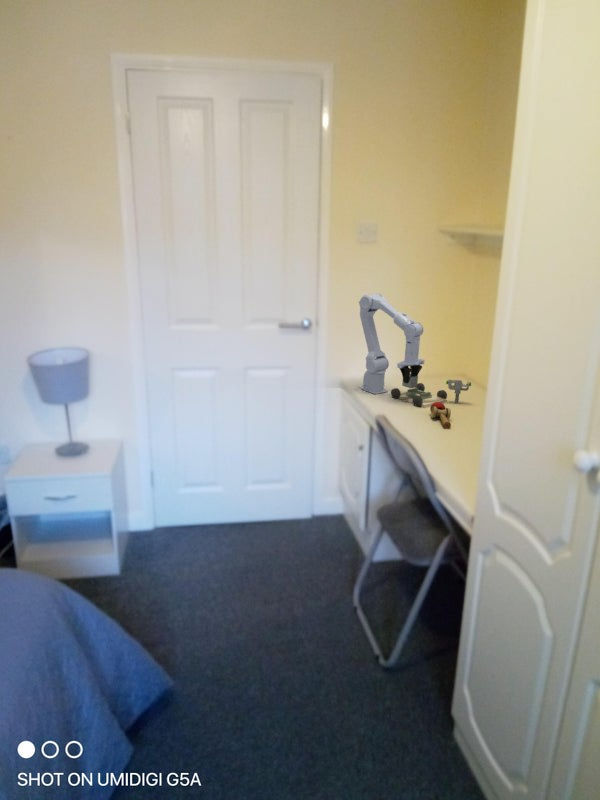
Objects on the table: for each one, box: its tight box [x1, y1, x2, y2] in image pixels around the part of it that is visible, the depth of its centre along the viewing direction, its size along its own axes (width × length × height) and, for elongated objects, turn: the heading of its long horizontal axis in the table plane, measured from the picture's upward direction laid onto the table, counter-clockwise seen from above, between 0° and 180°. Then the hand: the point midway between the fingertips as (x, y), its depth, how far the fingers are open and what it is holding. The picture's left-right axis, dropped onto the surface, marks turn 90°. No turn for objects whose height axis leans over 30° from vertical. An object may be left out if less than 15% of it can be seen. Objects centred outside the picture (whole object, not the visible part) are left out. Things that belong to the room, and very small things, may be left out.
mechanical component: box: [445, 379, 472, 404], centre depth 257 cm, size 3×10×10 cm, turn 78°
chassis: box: [390, 382, 448, 409], centre depth 262 cm, size 20×17×4 cm
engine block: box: [401, 373, 419, 389], centre depth 257 cm, size 5×4×5 cm
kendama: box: [429, 402, 452, 429], centre depth 236 cm, size 8×6×18 cm
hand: (409, 381), depth 258 cm, fingers closed on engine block, 4 cm apart
